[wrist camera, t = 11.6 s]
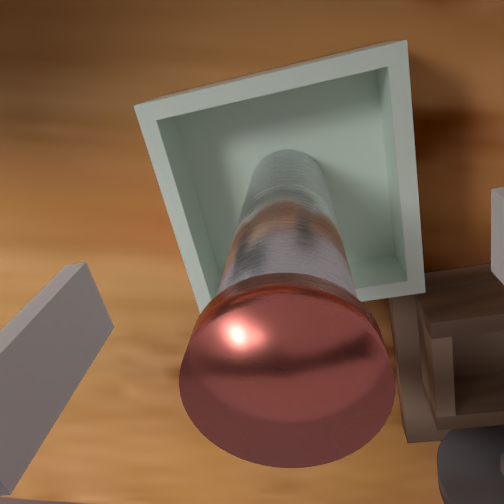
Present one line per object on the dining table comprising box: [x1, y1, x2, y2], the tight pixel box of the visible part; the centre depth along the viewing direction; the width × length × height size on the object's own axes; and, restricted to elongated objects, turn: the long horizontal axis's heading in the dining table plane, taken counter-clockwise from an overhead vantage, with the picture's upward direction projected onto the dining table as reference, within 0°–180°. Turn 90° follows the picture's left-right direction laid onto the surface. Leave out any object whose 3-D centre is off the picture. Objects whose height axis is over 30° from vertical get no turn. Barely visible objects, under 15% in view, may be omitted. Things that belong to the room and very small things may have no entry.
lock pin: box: [179, 149, 395, 468], centre depth 16 cm, size 5×5×15 cm
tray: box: [134, 40, 426, 314], centre depth 22 cm, size 12×12×4 cm
